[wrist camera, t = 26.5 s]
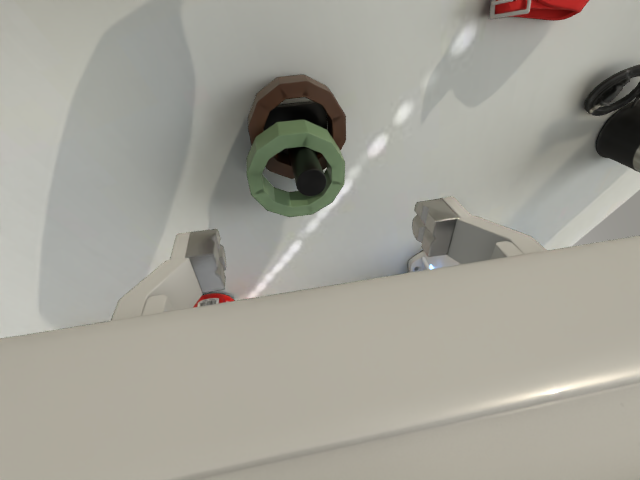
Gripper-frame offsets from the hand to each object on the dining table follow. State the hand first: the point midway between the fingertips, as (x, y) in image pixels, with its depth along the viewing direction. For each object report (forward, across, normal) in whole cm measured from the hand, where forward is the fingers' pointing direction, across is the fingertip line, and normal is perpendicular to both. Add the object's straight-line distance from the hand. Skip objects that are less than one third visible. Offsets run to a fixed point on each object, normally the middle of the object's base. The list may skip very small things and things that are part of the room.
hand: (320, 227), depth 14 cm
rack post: (+31, -2, +8) cm, 32 cm away
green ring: (+27, -1, +10) cm, 29 cm away
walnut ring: (+30, -2, +6) cm, 31 cm away
